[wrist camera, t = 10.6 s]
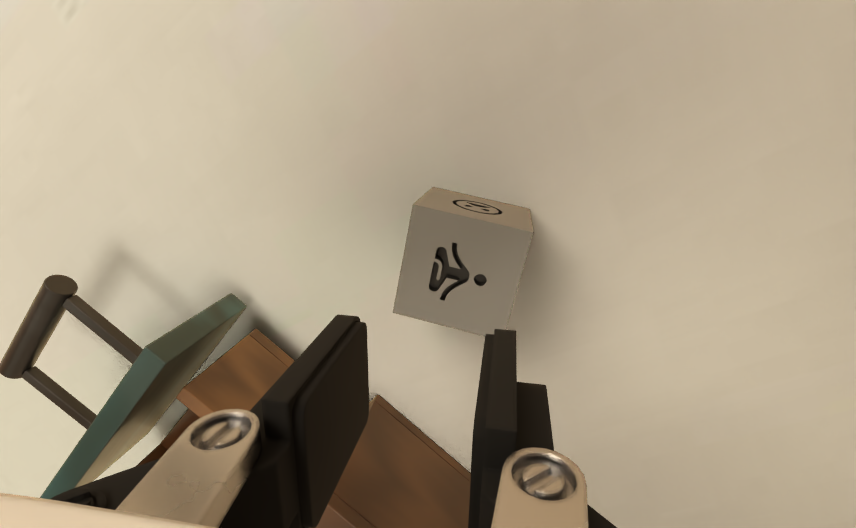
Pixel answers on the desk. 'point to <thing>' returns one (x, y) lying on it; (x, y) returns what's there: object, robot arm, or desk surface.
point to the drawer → (143, 377)
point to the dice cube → (463, 261)
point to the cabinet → (398, 479)
